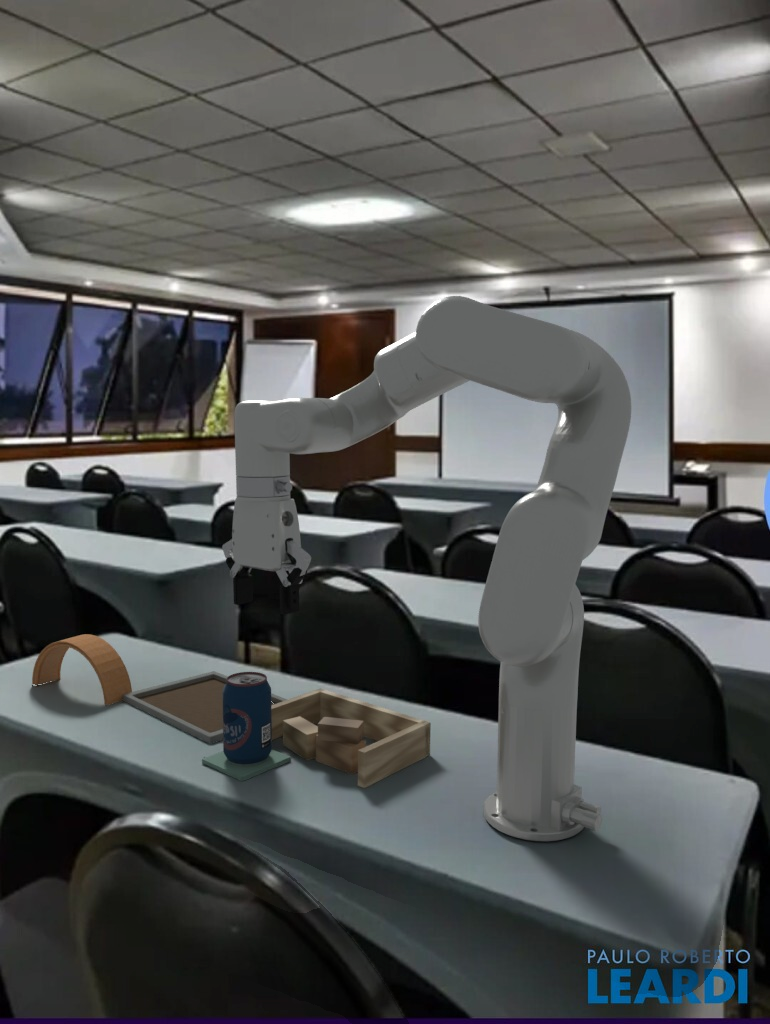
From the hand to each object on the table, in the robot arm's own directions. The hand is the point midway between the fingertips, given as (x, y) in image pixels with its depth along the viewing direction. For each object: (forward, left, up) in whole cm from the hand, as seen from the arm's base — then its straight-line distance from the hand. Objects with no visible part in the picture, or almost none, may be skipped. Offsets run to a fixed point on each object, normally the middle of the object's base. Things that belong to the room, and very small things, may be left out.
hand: (266, 607), depth 118 cm
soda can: (+1, +3, -22) cm, 22 cm away
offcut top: (-9, -6, -19) cm, 22 cm away
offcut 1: (-1, -6, -23) cm, 24 cm away
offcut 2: (-9, -6, -23) cm, 25 cm away
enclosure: (-5, -10, -23) cm, 25 cm away
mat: (+2, +3, -23) cm, 23 cm away
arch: (+48, +3, -23) cm, 53 cm away
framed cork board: (+23, -8, -23) cm, 34 cm away
